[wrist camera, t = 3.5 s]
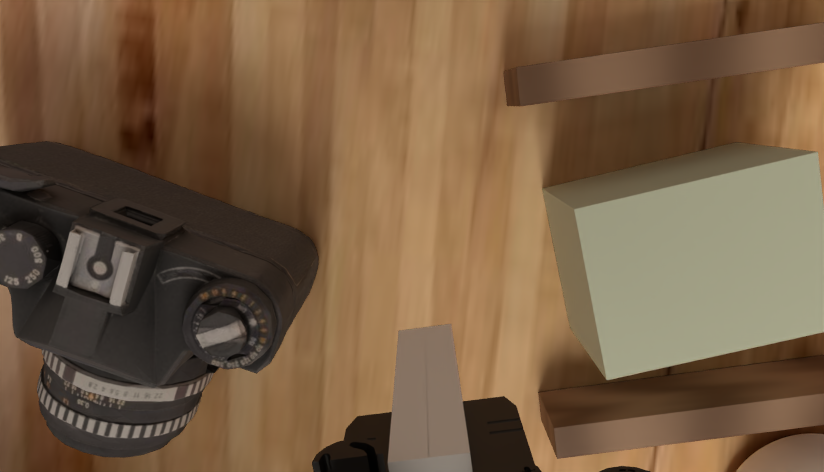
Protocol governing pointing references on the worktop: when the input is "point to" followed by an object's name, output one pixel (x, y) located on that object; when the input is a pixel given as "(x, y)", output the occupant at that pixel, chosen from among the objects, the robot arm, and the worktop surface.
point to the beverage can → (788, 455)
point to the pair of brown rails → (696, 391)
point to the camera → (137, 292)
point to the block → (691, 255)
